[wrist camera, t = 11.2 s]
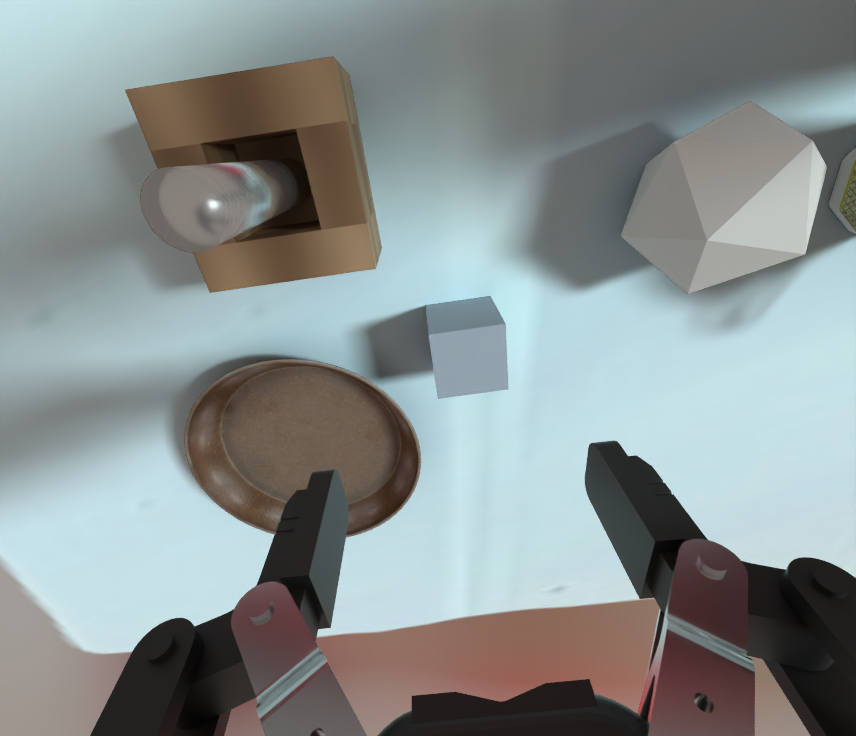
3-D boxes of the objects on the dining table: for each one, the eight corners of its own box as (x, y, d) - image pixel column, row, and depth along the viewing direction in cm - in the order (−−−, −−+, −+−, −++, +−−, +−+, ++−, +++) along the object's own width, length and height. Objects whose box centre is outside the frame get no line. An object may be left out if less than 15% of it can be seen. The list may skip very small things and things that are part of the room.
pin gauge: (304, 155, 22) (206, 160, 11) (316, 202, 23) (237, 246, 12) (262, 161, 22) (124, 173, 11) (276, 208, 23) (163, 257, 12)
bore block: (349, 75, 21) (333, 56, 17) (381, 247, 25) (375, 268, 21) (183, 101, 21) (125, 89, 17) (243, 267, 26) (209, 292, 21)
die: (578, 250, 27) (700, 346, 22) (612, 114, 19) (808, 216, 14) (669, 198, 28) (803, 278, 23) (733, 53, 21) (948, 127, 16)
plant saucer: (151, 403, 31) (126, 427, 28) (346, 300, 27) (339, 317, 25) (290, 536, 38) (281, 565, 36) (455, 469, 35) (458, 495, 32)
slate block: (490, 295, 27) (505, 324, 23) (493, 353, 29) (508, 389, 25) (425, 304, 27) (428, 334, 23) (433, 361, 30) (437, 398, 25)
